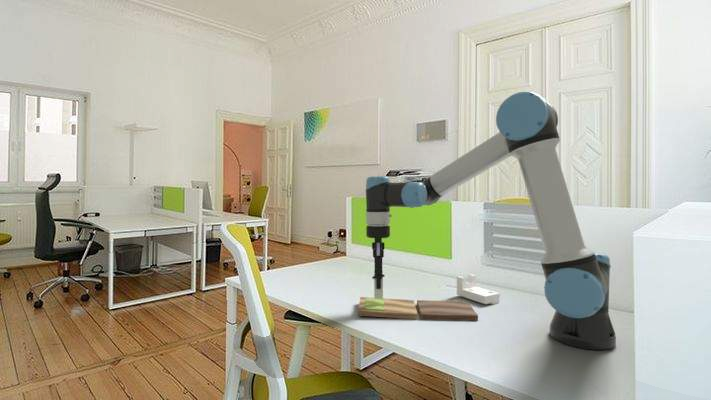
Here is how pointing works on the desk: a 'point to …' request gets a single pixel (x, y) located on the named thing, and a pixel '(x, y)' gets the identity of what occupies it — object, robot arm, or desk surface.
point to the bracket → (475, 291)
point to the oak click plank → (387, 308)
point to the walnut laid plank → (446, 310)
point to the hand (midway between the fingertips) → (378, 297)
